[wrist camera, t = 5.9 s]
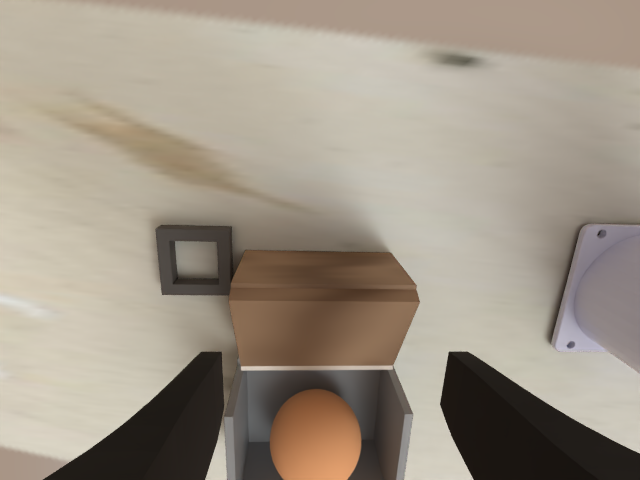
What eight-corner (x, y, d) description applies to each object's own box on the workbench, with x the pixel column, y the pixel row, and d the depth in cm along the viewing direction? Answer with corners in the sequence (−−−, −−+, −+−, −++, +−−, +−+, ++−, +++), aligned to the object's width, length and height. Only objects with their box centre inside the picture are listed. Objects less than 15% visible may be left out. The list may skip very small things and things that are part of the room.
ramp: (391, 252, 20) (421, 291, 15) (381, 343, 21) (406, 403, 16) (245, 250, 19) (228, 289, 14) (247, 343, 21) (232, 406, 16)
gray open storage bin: (388, 345, 21) (414, 407, 17) (377, 439, 23) (398, 517, 19) (240, 346, 21) (223, 410, 16) (243, 441, 23) (229, 523, 18)
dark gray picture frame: (231, 226, 19) (228, 230, 18) (233, 289, 20) (230, 295, 19) (161, 225, 18) (155, 228, 18) (167, 288, 19) (161, 294, 19)
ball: (372, 510, 16) (368, 394, 18) (264, 513, 16) (269, 394, 18) (353, 474, 21) (352, 384, 23) (270, 475, 21) (273, 384, 22)
